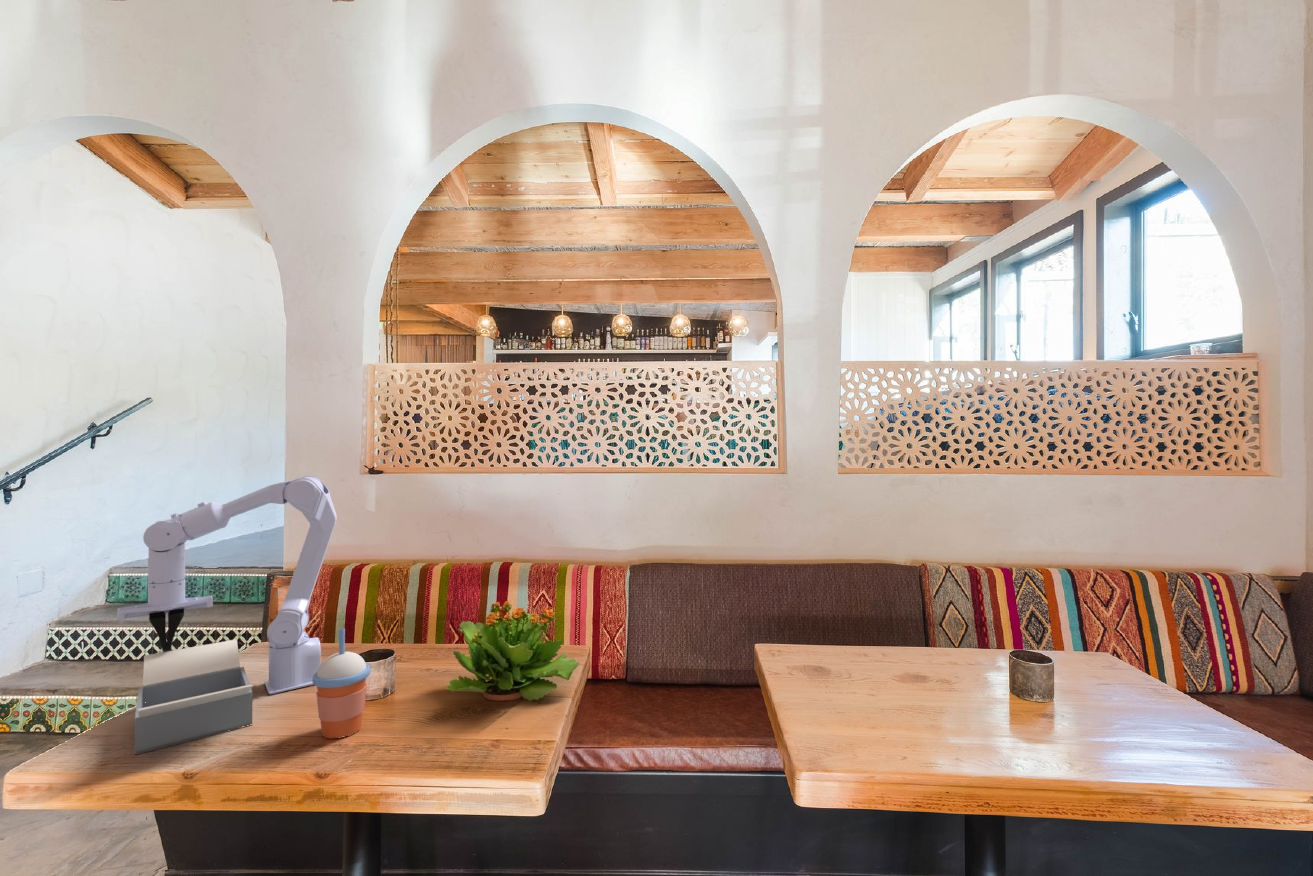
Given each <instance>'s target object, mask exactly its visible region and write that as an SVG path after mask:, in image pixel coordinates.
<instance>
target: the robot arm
mask: <svg viewBox="0 0 1313 876" xmlns="http://www.w3.org/2000/svg"><path fill="white" fill-rule="evenodd" d="M287 503H288V504H289V505H291V506H292V507H293V508H295V509H296V510H298V511H299V512H301V513H302V514H303V516H304V517H305V519H306V520H307V522H308V523H309V524H310V525H309V529H308V531H307V534H306V536H305V540H304V541H303V545H302V549H301V552H300V553H299V557H298V560H297V563H296V566H295V568H294V572H293V574H292V577H291V580H290V583H289V586H288V589H287V593H286V595H285V597H284V600H283V601H282V605H281V607H280V608H279V612H278V613H277V615H276V618H275V619H274V620H272V621H271V623H270V624H269V625H268V628H267V631H266V635H267V639H268V641H269V642H268V680H267V679H266V680H265V681H264V685H265V688H266V691H267V693H268V695H274V694H279V693H282V692H283V693H284V692H286V691H291V690H292V691H293V690H296V689H300V688H304V687H308V686H309V687H310V686H312V685H313V686H315V685H314V684H313V682H312V678H313V675H314V674H315V672H317V671H318V669H319V667H320V665H321V664H322V648H321V641H320V638H319V636H318V637H310V636H309V635H308V633H307V632H306V631H304V630H305V629H306V627H308V624H309V622H310V616H309V606H310V603H311V599H312V594H313V593H314V589H315V586H316V584H317V580H318V577H319V574H320V571H321V568H322V566H323V562H324V560H325V557H326V554H327V550H328V548H329V545H330V542H331V538H332V536H333V533H334V530H335V527H336V523H337V521H338V516H337V515H338V514H337V512H336V509H335V506H334V503H333V500H332V498H331V493H330V490H329V488H328V487H327V486H326V484H325V483H324V482H323V481H322V480H321V479H320V478H318V477H316V476H314V475H305V476H301V477H298V478H294V479H290V480H285V481H282V482H277V483H274V484H271V485H270V484H269V485H266V486H264V487H262V488H259V489H257V490H255V491H253V492H251V493H248V494H246V495H243V496H240V497H239V498H235V499H234V500H231V501H228V502H227V503H226V502H225V503H219V502H217V501H210V502H207V501H203V502H200V503H198V504H197V507H195V508H193V509H190V510H186V511H184V512H182V513H179V512H175V513H173V514H170V517H171V518H169V519H163V520H158V521H156V522H155V523H153V524H151V525H149V527H148V528H146V529H145V531H144V533H143V543H144V544H145V545H146V547H147V549H148V559H147V602H146V603H142V604H140V603H139V604H135V605H131V606H124V607H118V608H117V610H116V611H117V612H116V616H117V617H116V618H117V619H116V620H117V621H121V620H122V621H123V620H126V619H130V618H138V617H145V616H146V617H147V616H148V621H149V623H150V625H152V627H153V628H154V630H155V632H156V634H157V636H158V639H159V640H160V641H159V642H160V644H161V651H162V652H167V651H172V646H173V645H172V644H173V642H174V637H175V634H176V633H177V630H178V628H179V625H180V624H181V622H182V620H183V618H184V616H185V611H187V610H194V609H202V608H212V607H214V605H213V604H214V600H213V598H214V597H213V595H207V596H206V595H205V596H195V597H186V554H185V553H186V552H185V551H186V547H185V546H186V542H188V541H193V540H196V539H198V538H200V537H203V536H206V535H209V534H211V533H213V532H216V531H218V530H220V529H223V528H226V527H227V525H228V524H229V521H230V519H232V518H233V517H236V516H238V515H242V514H244V513H247V512H249V511H252V510H255V509H258V508H260V507H263V506H265V505H268V504H276V505H277V504H279V505H285V504H287ZM166 613H167V618H168V619H167V621H166ZM166 623H167V626H166ZM166 627H167V632H166Z"/></svg>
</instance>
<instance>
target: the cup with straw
mask: <svg viewBox="0 0 1313 876" xmlns="http://www.w3.org/2000/svg"><path fill="white" fill-rule="evenodd" d="M345 640H346V628H343V627H342V628H340V629H338V652H336V653H333V654H332V655H330V656H327V658H326V659H324V660H323V662H321V665H320V667H319V669H318V671H317V672H315V674H314V675H313V678H312V682H313V684H314V685H313V686H315V687H316V689H317V690H316V703H317V711H318V719H319V720H320V728H321V735H322V737H323V736H324V737H323V738H325V737H326V738H325V739H327V738H339V737H342V736H348V735H350V734H352V733H355V732H356V733H357V731H358V730H359V731H360V730H361V728H362V722H363V714H364V711H365V704H366V693H367V685H368V684H367V678H368V677H369V676H370V675H371V666H370V665H369V664H368V663H367V662H366V661H365V659H364V658H363V656H361V655H360V654H358V653H355V652H352V651H345V650H346V646H345V645H346V641H345ZM359 731H358V732H359ZM356 733H355V734H356ZM350 736H351V735H350ZM348 737H349V736H348ZM339 739H340V738H339Z"/></svg>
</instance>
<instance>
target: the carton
mask: <svg viewBox="0 0 1313 876" xmlns="http://www.w3.org/2000/svg"><path fill="white" fill-rule="evenodd" d="M246 685H250V682H249V679H248V675H247V672H246V669H245V667H244V666H240V668H235V669H230V670H225V671H220V672H215V673H210V674H205V675H200V676H195V677H190V678H185V679H180V680H175V681H170V682H165V683H160V684H155V685H150V686H145V687H143V686H141V687H138V688H137V689H138V691H137V698H136V706H135V707H136V708H135V713H134V756H136V755H140V754H144V753H148V752H153V751H157V750H160V749H164V748H168V747H172V746H176V745H180V744H183V743H187V742H191V741H195V740H194V739H196V740H199V739H204V738H207V737H206V736H208V737H211V736H210V735H212V736H215V735H214V734H216V735H219V734H223V733H227V732H229V731H228V730H231V731H234V729H235V730H238V729H237V728H239V727H242V726H247V725H250V724H252V725H253V689H251V690H250V691H249V693H248V694H244V695H239V696H235V697H230V698H226V699H222V700H217V701H213V702H208V703H204V704H199V705H195V706H190V707H186V708H182V709H177V710H173V711H168V712H164V713H159V714H155V715H150V716H146V717H142V718H140V717H139V713H138V709H140V708H145V707H149V706H154V705H158V704H163V703H168V702H172V701H177V700H181V699H186V698H191V697H195V696H200V695H204V694H209V693H214V692H218V691H223V690H227V689H232V688H237V687H241V686H246ZM145 702H146V703H145ZM247 727H248V726H247ZM239 729H240V728H239ZM226 731H227V732H226ZM218 733H219V734H218Z"/></svg>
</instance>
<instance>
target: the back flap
mask: <svg viewBox="0 0 1313 876" xmlns="http://www.w3.org/2000/svg"><path fill="white" fill-rule="evenodd" d="M240 667H241V664H240V653H239V647H238V639H230V640H225V641H221V642H214V643H209V644H208V643H207V644H203V645H202V644H201V645H196V646H192V647H186V648H180V649H176V650H175V649H174V650H166V651H162V652H157V653H152V654H145V655H143V671H142V672H143V673H142V674H143V677H142V687H145V686H150V685H155V684H160V683H165V682H170V681H175V680H180V679H185V678H190V677H195V676H200V675H205V674H210V673H215V672H220V671H225V670H230V669H235V668H240Z"/></svg>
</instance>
